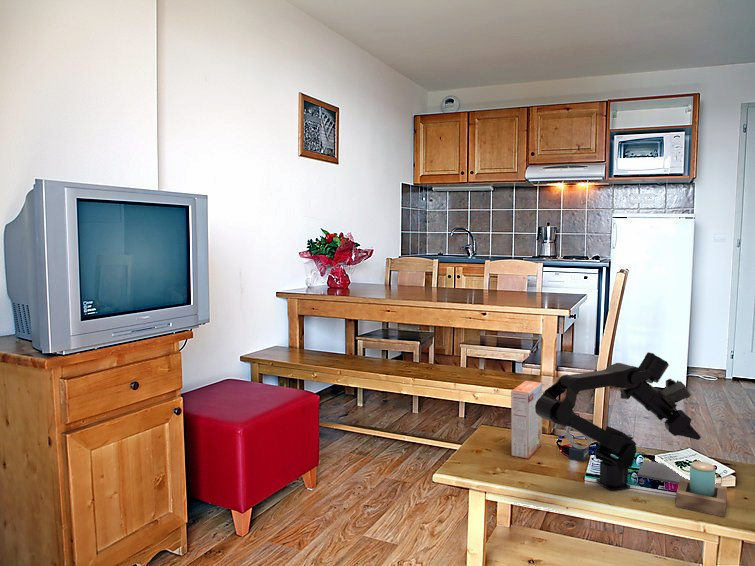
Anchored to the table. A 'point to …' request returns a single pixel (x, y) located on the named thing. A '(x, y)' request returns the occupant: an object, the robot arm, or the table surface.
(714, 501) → the walnut frame
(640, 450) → the table surface
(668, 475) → the gray rectangular panel
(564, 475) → the table surface
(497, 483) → the table surface
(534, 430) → the cracker box
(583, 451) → the watch
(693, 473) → the teal jar
